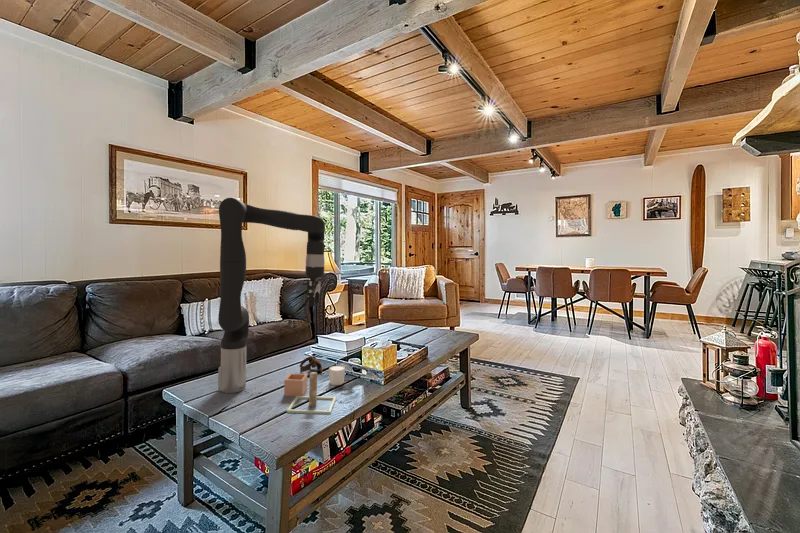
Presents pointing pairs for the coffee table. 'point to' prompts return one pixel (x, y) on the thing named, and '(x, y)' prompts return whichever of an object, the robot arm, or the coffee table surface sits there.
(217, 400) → the coffee table surface
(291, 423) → the coffee table surface
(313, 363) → the brown curved piece
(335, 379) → the beige cylinder
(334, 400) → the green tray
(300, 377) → the square clay pot
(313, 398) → the birch pin
